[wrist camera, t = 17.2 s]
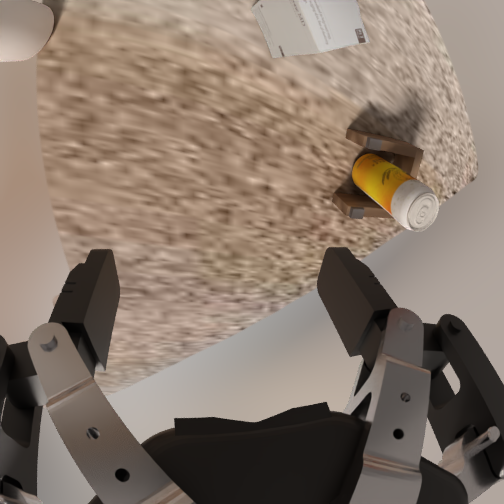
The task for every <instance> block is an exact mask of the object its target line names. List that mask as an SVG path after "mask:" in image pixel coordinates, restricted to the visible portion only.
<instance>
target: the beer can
mask: <svg viewBox="0 0 504 504" xmlns="http://www.w3.org/2000/svg"><path fill="white" fill-rule="evenodd" d="M352 178H353V181H354V183H355V185H356V186H357V187H359V188H360V189H361V190H362V191H364V192H365V193H366V194H367V195H368V196H370V197H371V198H372V199H373V200H374V201H375V202H377V203H378V204H379V205H380V206H381V207H382V208H384V209H385V210H386V211H387V212H388V213H389V214H390V215H391V216H393V217H394V218H395V219H396V220H397V221H398V222H399V223H400V224H401V225H402V226H404V227H405V228H406V229H408V230H413V231H415V232H420V231H423V230H425V229H427V228H428V227H429V226H430V225H431V224H432V223H433V222H434V220H435V219H436V217H437V214H438V211H439V201H438V199H437V197H436V196H435V194H434V192H433V190H432V189H431V188H429V187H428V186H426V185H425V184H423V183H422V182H420V181H419V180H417V179H416V178H414V177H412V176H411V175H409V174H408V173H406V172H404V171H403V170H401V169H400V168H398V167H396V166H395V165H393V164H391V163H390V162H388V161H386V160H384V159H383V158H381V157H379V156H377V155H375V154H365V155H363V156H361V157H360V158H359V159H358V160H357V161H356V162H355V164H354V167H353V170H352Z"/></svg>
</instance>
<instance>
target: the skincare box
mask: <svg viewBox="0 0 504 504" xmlns="http://www.w3.org/2000/svg"><path fill="white" fill-rule="evenodd" d="M251 11H252V13H253V14H254V16H255V18H256V20H257V21H258V24H259V26H260V28H261V30H262V32H263V34H264V37H265V39H266V42H267V44H268V47H269V49H270V53H271V55H272V57H273V58H279V57H287V56H295V55H307V54H317V53H322V52H326V51H331V50H335V49H340V48H344V47H349V46H354V45H359V44H365V43H369V42H370V40H369V38H368V35H367V32H366V30H365V27H364V24H363V21H362V19H361V16H360V9H359V5H358V3H357V1H356V0H259V1H258V2H257V3H256V4H255V5H254V6H253V7H252V8H251Z"/></svg>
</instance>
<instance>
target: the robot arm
mask: <svg viewBox="0 0 504 504" xmlns="http://www.w3.org/2000/svg"><path fill="white" fill-rule="evenodd" d="M317 289H318V293H319V296H320V297H321V299H322V301H323V303H324V305H325V307H326V309H327V311H328V313H329V315H330V317H331V319H332V321H333V323H334V325H335V328H336V329H337V331H338V334H339V335H340V338H341V340H342V342H343V344H344V346H345V348H346V350H347V352H348V354H349V356H350V357H352V356H357V355H362V357H363V360H362V361H361V364H360V366H359V370H358V373H357V376H356V380H355V383H354V386H353V390H352V393H351V395H350V399H349V401H348V404H347V406H346V408H345V410H344V411H343V413H342V412H335V411H330V410H329V407H328V405H327V402H323V403H318V404H313V405H308V406H303V407H297V408H292V409H290V410H287V411H285V412H283V413H280V414H277V415H275V416H272V417H270V418H267V419H265V420H262V421H259V422H244V421H237V420H229V419H223V418H216V417H206V418H175V419H174V422H175V428H171V429H168V430H165V431H162V432H159V433H158V434H155V435H154V436H152V437H150V438H149V439H147V440H146V441H144V442H143V443H142V444H141V445H140V444H139V442H138V441H137V440H136V439H135V437H134V436H133V435H132V434H131V432H130V431H129V430H128V428H127V427H126V426H125V424H124V423H123V422H122V420H121V419H120V417H119V416H118V415H117V413H116V412H115V410H114V409H113V408H112V406H111V405H110V403H109V402H108V400H107V399H106V397H105V396H104V394H103V393H102V391H101V389H100V388H99V386H98V385H97V383H96V382H95V380H94V373H95V371H105V370H106V363H107V358H108V352H109V346H110V341H111V336H112V331H113V326H114V321H115V316H116V312H117V307H118V303H119V298H120V285H119V280H118V275H117V270H116V266H115V260H114V255H113V252H112V250H111V249H92V250H91V251H90V253H89V255H88V257H87V260H86V262H85V263H79V264H78V265H77V266H76V267H75V268H74V269H73V270H72V271H71V272H70V273H69V275H68V278H67V280H66V282H65V284H64V286H63V289H62V293H60V295H59V297H58V300H57V302H56V304H55V307H54V309H53V312H52V314H51V317H50V319H49V322H48V323H45V324H43V325H41V326H39V327H37V328H36V329H35V330H34V331H33V332H32V333H31V335H30V337H29V340H28V341H26V342H21V343H16V344H11V345H8V344H7V342H6V341H5V339H4V338H3V337H2V336H1V335H0V504H43V503H42V501H41V500H40V499H39V498H38V497H37V460H38V459H37V458H38V443H39V433H40V422H41V415H42V408H43V405H46V407H47V410H48V412H49V415H50V417H51V419H52V421H53V423H54V425H55V427H56V429H57V431H58V433H59V435H60V437H61V438H62V440H63V442H64V444H65V445H66V447H67V449H68V451H69V452H70V454H71V456H72V458H73V459H74V461H75V463H76V464H77V466H78V467H79V469H80V471H81V472H82V474H83V475H84V477H85V478H86V480H87V481H88V483H89V484H90V486H91V487H92V488H93V490H94V491H95V493H96V494H97V495H96V496H95V497H94V498H93V499H92V500H91V501H90V502H89V503H88V504H469V503H470V502H471V501H473V500H474V499H476V498H477V497H478V496H480V495H481V494H482V493H483V492H485V491H486V490H487V489H488V488H490V487H491V486H492V485H494V484H495V483H497V482H499V481H501V480H503V479H504V385H503V383H502V381H501V380H500V378H499V376H498V374H497V373H496V371H495V369H494V368H493V366H492V364H491V363H490V361H489V360H488V358H487V356H486V355H485V354H484V352H483V350H482V348H481V347H480V345H479V344H478V342H477V341H476V339H475V338H474V336H473V335H472V333H471V332H470V331H469V329H468V328H467V326H466V325H465V323H464V322H463V321H462V320H460V319H459V318H457V317H456V316H454V315H451V314H445V315H443V316H442V317H441V318H440V320H439V321H438V323H437V324H428V323H422V320H421V319H420V318H419V316H417V315H416V314H415V313H414V312H412V311H410V310H408V309H405V308H398V307H397V306H396V304H395V303H394V302H393V300H392V299H391V297H390V296H389V295H388V293H387V292H386V290H385V289H384V288H383V286H382V285H381V284H380V282H379V281H378V279H377V278H376V277H375V276H374V274H373V273H372V271H371V270H370V269H369V267H367V266H366V265H365V264H364V263H362V262H361V261H359V260H358V259H356V258H355V257H354V255H353V254H352V253H351V251H350V250H349V249H348V248H346V247H329V248H328V249H327V250H326V252H325V255H324V259H323V262H322V266H321V269H320V273H319V276H318V280H317ZM449 362H450V364H451V366H452V368H453V369H454V371H455V373H456V375H457V376H458V378H459V380H460V390H459V392H458V393H457V394H456V395H455V394H454V392H453V390H452V388H451V386H450V384H449V383H448V380H447V379H446V377H445V375H444V373H443V371H442V370H443V369H444V368H445V366H446V365H447V364H448V363H449ZM5 398H6V401H5V405H4V410H3V416H2V422H1V414H2V409H3V404H4V399H5ZM427 417H428V420H429V422H430V424H431V426H432V429H433V431H434V434H435V436H436V438H437V441H438V443H439V446H440V448H441V451H442V453H443V456H442V460H441V461H440V462H439V463H438V465H436V464H434V463H432V462H430V461H429V460H427V459H425V458H424V457H422V456H421V452H422V447H423V441H424V435H425V428H426V421H427Z"/></svg>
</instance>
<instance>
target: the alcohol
mask: <svg viewBox="0 0 504 504" xmlns="http://www.w3.org/2000/svg"><path fill="white" fill-rule="evenodd" d="M53 25H54V15H53V12H52V10H51V9H50V8H49V7H48V6H46V5H44V4H41V3H38V2H35V1H32V0H0V62H7V61H23V60H27V59H29V58H31V57H33V56H34V55H36V54H37V53H38V52H39V51H40V50H41V49H42V48H43V47H44V45H45V44H46V42H47V41H48V39H49V37H50V35H51V33H52V30H53Z"/></svg>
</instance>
